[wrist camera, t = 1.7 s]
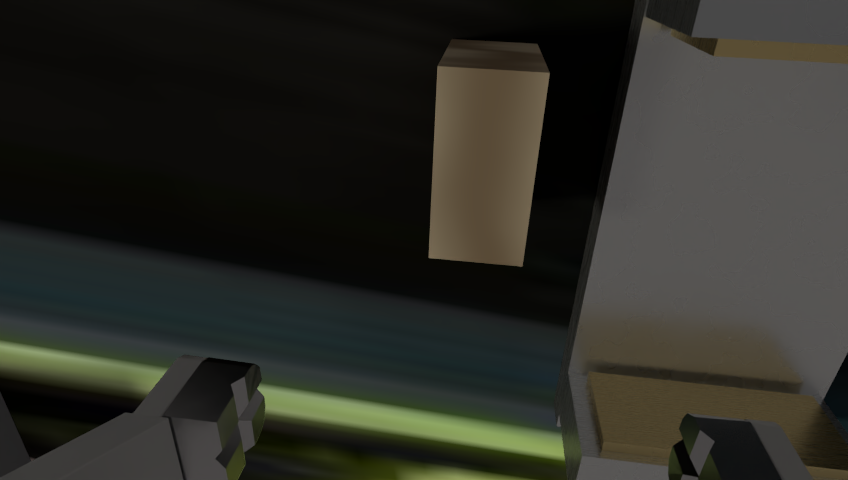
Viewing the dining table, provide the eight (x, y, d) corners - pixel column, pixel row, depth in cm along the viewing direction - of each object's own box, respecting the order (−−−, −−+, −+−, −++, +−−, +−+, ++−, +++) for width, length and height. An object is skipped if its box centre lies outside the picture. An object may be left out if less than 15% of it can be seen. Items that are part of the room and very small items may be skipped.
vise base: (669, -166, 21) (753, -225, 14) (1063, -158, 20) (1371, -217, 13) (553, 402, 35) (567, 514, 28) (779, 428, 34) (852, 551, 27)
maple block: (443, 194, 29) (428, 257, 23) (452, 39, 26) (437, 66, 20) (517, 200, 29) (522, 266, 23) (537, 43, 25) (549, 72, 19)
